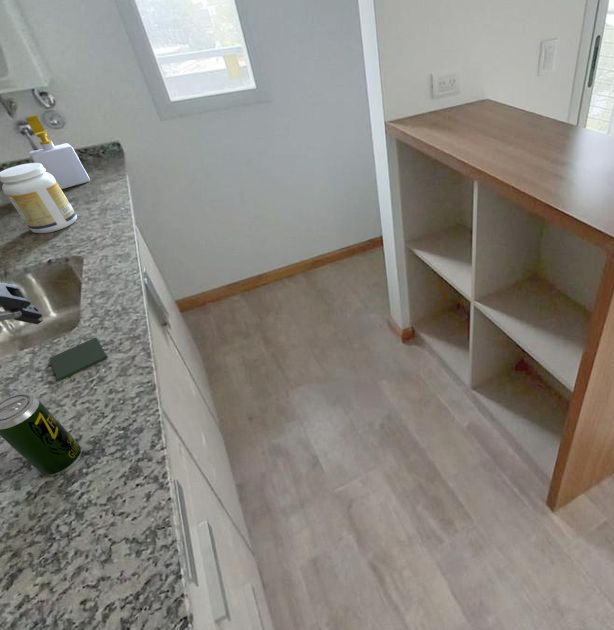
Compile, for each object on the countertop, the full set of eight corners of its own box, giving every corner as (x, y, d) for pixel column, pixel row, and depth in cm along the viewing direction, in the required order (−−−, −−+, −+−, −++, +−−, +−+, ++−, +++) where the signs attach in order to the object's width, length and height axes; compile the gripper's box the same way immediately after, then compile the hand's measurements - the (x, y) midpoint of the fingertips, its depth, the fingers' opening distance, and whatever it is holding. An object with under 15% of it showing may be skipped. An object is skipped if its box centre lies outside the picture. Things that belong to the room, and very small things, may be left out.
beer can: (41, 485, 61) (-18, 431, 54) (41, 458, 65) (-14, 404, 57) (85, 464, 63) (34, 410, 56) (82, 439, 67) (35, 385, 60)
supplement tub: (66, 213, 138) (33, 159, 127) (87, 220, 133) (54, 164, 122) (23, 230, 130) (-16, 173, 119) (43, 238, 125) (4, 180, 114)
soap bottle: (53, 192, 154) (9, 121, 139) (49, 187, 158) (7, 118, 143) (91, 181, 160) (53, 112, 146) (87, 177, 164) (50, 110, 149)
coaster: (59, 381, 78) (57, 379, 77) (50, 359, 82) (48, 358, 82) (108, 357, 82) (106, 355, 81) (97, 338, 86) (96, 336, 86)
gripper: (-99, 236, 42) (42, 281, 57) (-247, 330, 40) (-58, 350, 55) (-60, 296, 41) (72, 325, 56) (-210, 395, 39) (-29, 397, 54)
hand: (8, 337), depth 56 cm, fingers open, 8 cm apart
